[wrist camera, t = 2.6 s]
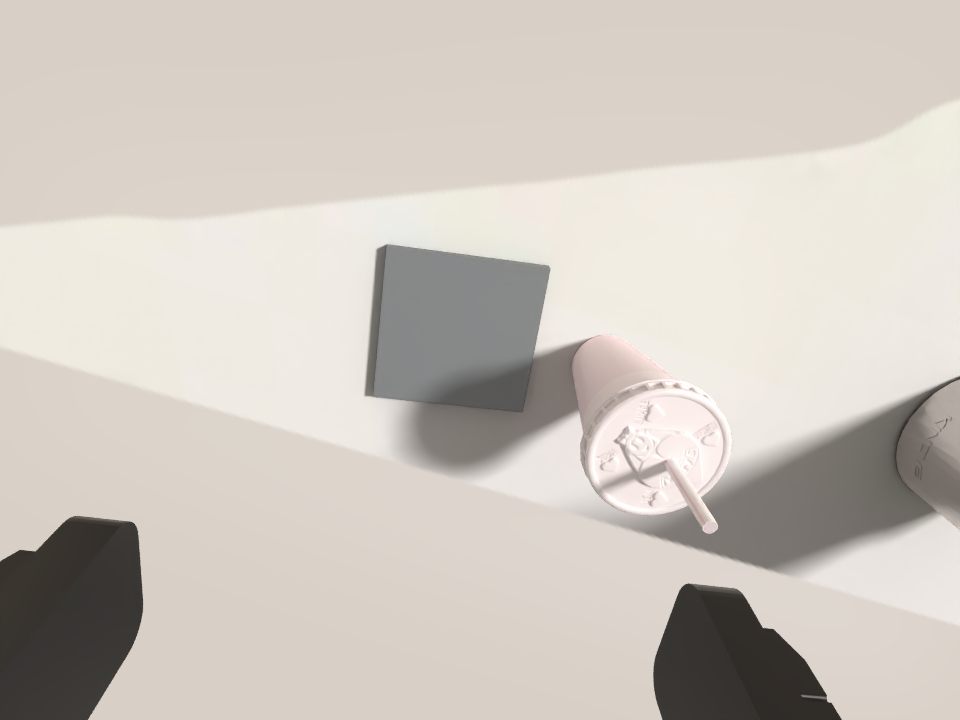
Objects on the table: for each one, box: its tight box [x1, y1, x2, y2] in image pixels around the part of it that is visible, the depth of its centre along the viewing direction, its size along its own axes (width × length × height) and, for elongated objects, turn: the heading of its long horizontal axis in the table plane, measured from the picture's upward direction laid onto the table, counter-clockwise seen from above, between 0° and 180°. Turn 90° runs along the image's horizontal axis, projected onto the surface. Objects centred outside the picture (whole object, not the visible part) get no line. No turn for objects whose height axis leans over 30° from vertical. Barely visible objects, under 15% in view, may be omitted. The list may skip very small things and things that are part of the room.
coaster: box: [373, 244, 550, 412], centre depth 33 cm, size 8×8×1 cm
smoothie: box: [572, 335, 732, 534], centre depth 28 cm, size 6×6×14 cm
